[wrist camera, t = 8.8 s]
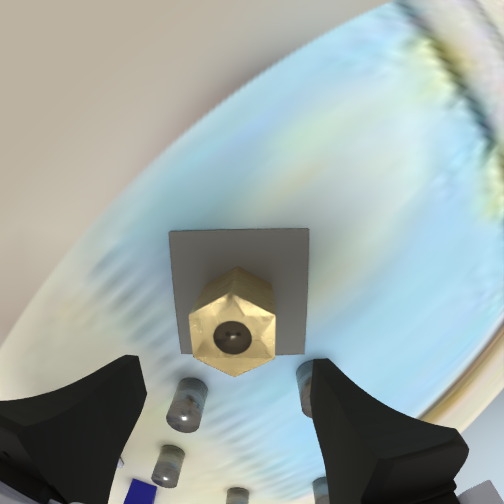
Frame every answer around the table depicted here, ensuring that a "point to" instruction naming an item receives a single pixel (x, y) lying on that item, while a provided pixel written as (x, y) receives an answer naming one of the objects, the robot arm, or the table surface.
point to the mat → (252, 260)
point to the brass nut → (234, 323)
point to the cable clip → (140, 493)
